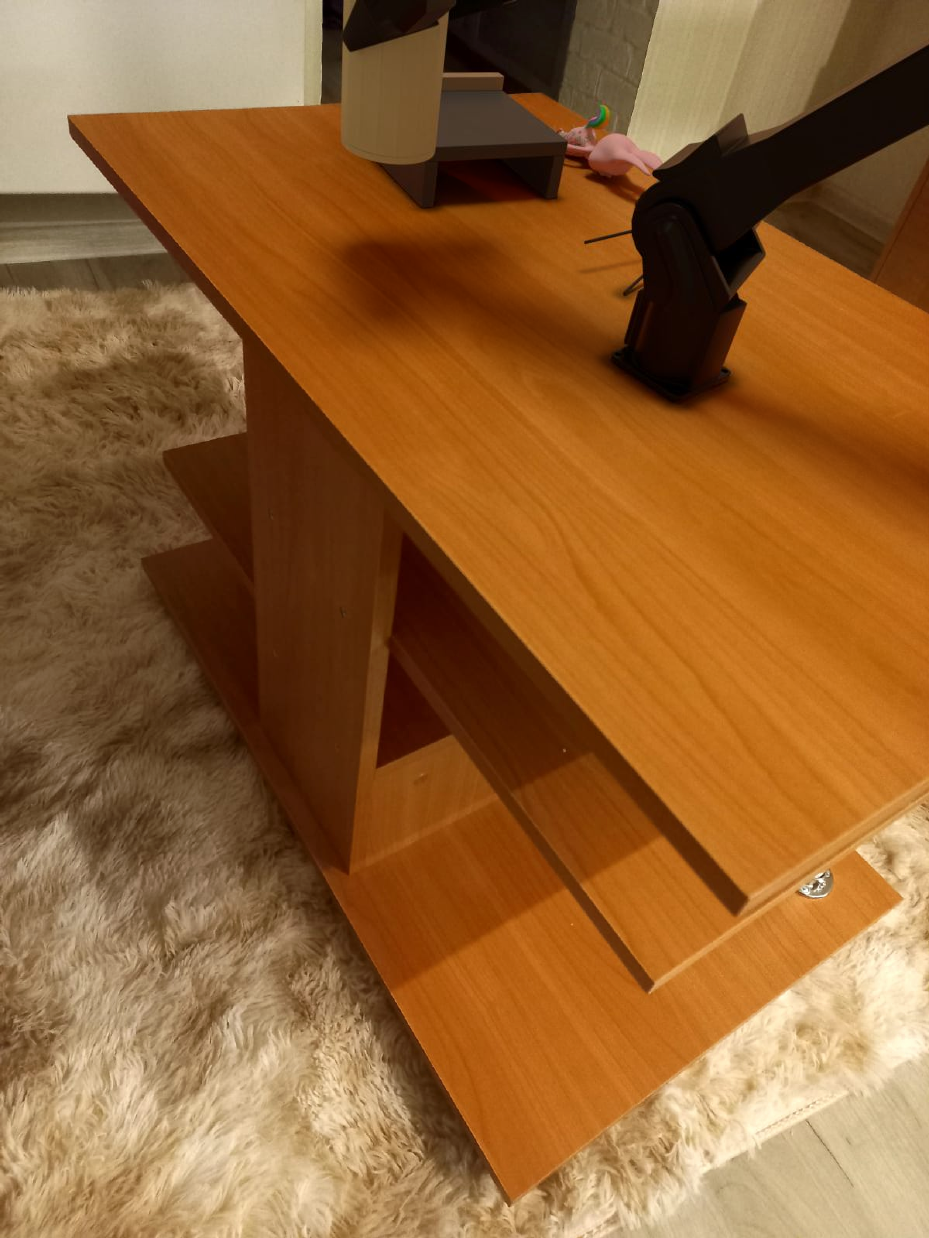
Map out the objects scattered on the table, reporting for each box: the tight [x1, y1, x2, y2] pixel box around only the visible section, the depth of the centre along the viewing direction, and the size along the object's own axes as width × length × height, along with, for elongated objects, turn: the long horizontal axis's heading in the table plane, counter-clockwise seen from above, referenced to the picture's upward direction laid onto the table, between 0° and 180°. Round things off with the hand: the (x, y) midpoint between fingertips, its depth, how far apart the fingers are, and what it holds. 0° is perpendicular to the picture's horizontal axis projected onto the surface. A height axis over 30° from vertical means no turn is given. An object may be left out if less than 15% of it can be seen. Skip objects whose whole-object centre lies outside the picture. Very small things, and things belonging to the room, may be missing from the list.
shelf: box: [377, 72, 568, 209], centre depth 80 cm, size 14×14×6 cm
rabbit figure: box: [553, 104, 663, 179], centre depth 85 cm, size 6×6×15 cm
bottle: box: [340, 0, 449, 164], centre depth 58 cm, size 7×7×14 cm
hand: (377, 35), depth 59 cm, fingers closed on bottle, 7 cm apart
